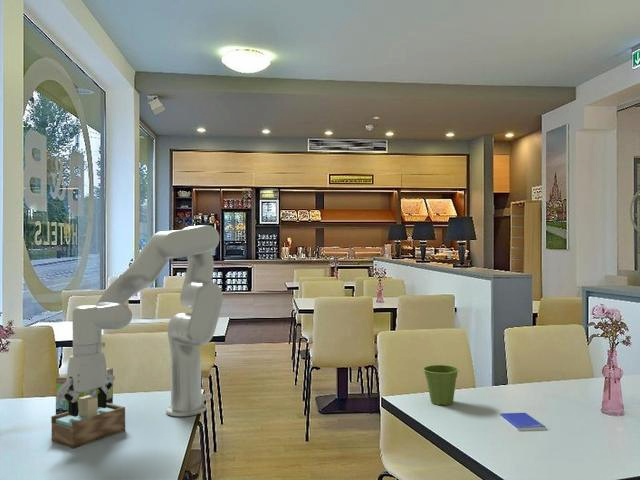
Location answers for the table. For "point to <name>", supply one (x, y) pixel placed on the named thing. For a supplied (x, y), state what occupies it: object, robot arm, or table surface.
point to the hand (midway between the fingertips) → (88, 411)
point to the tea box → (63, 404)
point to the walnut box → (89, 427)
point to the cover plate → (73, 419)
